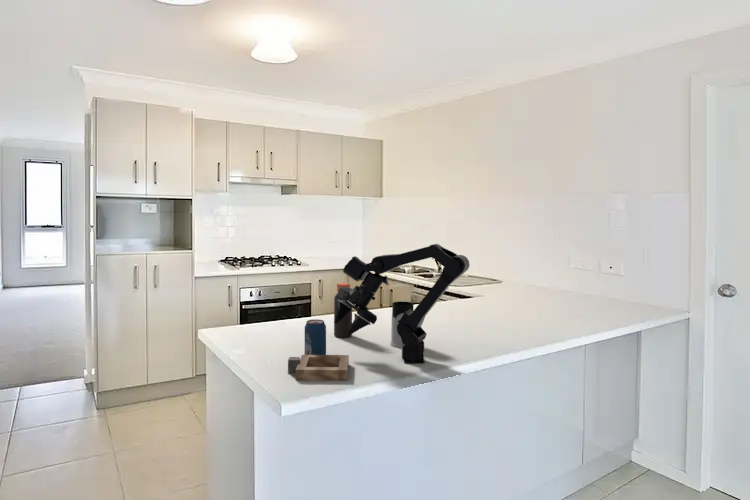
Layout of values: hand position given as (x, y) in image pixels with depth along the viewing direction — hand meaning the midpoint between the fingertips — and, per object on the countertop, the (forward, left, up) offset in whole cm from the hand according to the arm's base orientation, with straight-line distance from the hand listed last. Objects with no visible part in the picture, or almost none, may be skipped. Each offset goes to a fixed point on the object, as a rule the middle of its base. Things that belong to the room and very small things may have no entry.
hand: (341, 328), depth 166 cm
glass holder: (-20, -17, -9) cm, 28 cm away
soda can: (+8, +2, -9) cm, 13 cm away
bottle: (+1, -26, -9) cm, 28 cm away
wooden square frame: (+6, +16, -9) cm, 19 cm away
